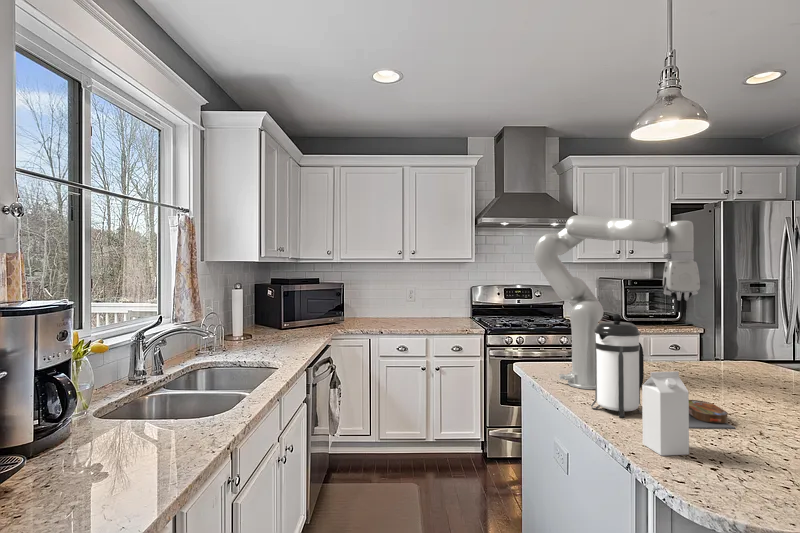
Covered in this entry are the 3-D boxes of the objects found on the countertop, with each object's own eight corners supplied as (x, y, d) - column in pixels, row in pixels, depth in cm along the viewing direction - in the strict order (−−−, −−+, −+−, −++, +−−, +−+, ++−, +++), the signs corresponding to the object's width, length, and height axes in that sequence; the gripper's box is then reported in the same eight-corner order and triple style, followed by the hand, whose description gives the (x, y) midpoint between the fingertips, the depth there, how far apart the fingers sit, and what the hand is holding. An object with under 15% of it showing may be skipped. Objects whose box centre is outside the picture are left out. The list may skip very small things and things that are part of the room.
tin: (733, 415, 127) (700, 411, 129) (732, 427, 127) (699, 423, 129) (708, 400, 142) (678, 397, 143) (707, 410, 142) (677, 407, 143)
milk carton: (642, 444, 115) (641, 369, 115) (669, 443, 116) (668, 368, 116) (660, 456, 108) (660, 375, 108) (689, 455, 108) (688, 375, 108)
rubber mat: (688, 428, 126) (688, 426, 126) (655, 408, 144) (655, 406, 144) (735, 428, 125) (735, 427, 125) (696, 408, 143) (696, 407, 143)
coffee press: (652, 421, 132) (652, 317, 132) (592, 415, 137) (591, 315, 137) (643, 404, 148) (642, 311, 148) (589, 399, 153) (589, 310, 153)
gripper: (663, 257, 151) (663, 313, 151) (710, 257, 150) (710, 313, 150) (652, 258, 158) (652, 311, 158) (696, 257, 158) (696, 310, 158)
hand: (680, 311), depth 154 cm, fingers closed
